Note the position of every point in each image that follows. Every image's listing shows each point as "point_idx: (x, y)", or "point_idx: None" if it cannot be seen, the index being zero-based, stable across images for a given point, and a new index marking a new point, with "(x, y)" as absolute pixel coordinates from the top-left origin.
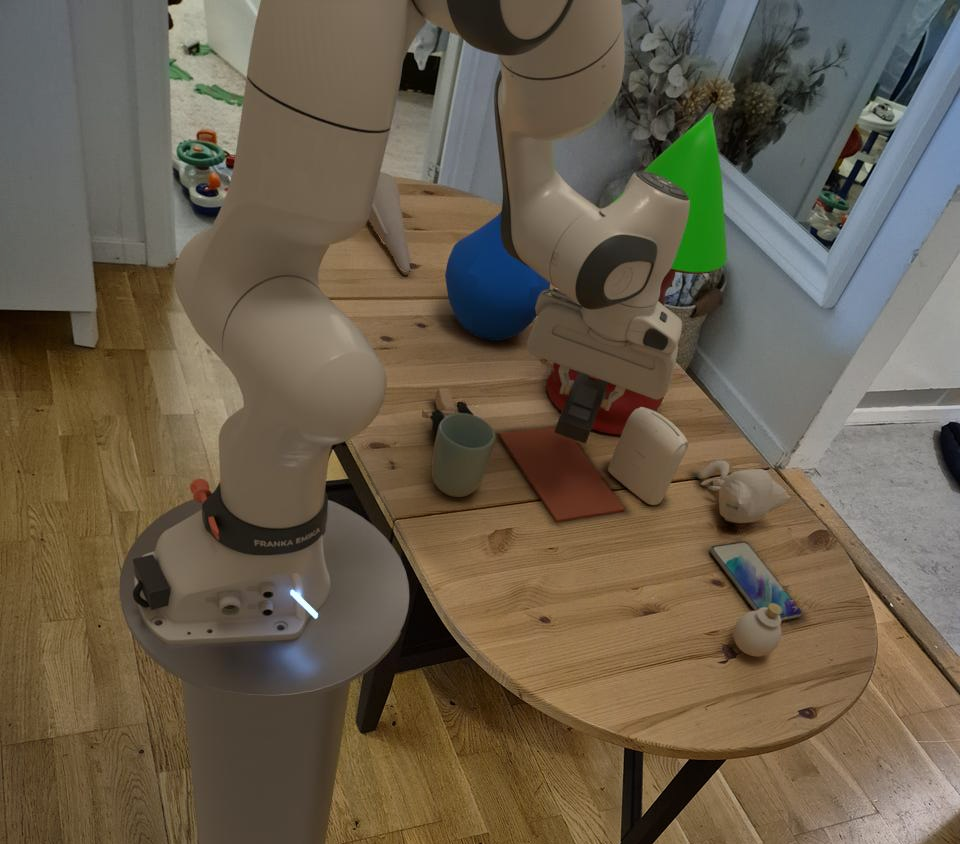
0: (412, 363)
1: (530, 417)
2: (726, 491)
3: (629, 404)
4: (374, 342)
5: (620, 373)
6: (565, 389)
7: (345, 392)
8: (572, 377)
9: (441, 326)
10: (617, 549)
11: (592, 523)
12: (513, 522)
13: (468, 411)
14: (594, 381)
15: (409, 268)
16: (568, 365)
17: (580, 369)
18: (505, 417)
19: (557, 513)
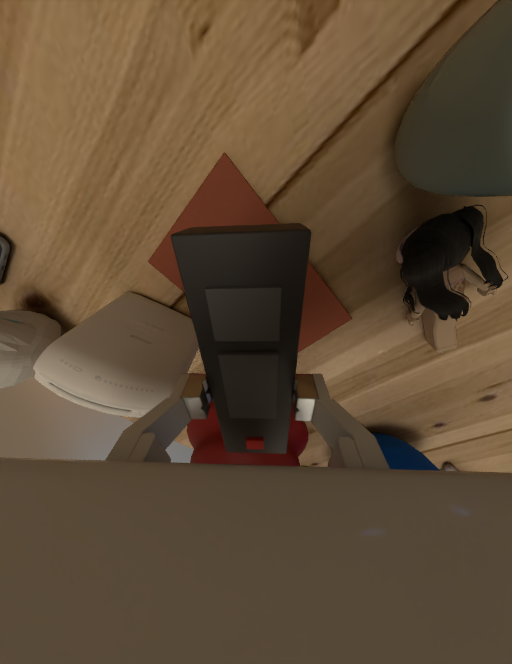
0: (461, 379)
1: (313, 364)
2: (22, 338)
3: (210, 416)
4: (507, 388)
5: (83, 553)
6: (312, 386)
7: None
8: None
9: (416, 431)
10: (104, 145)
11: (172, 198)
12: (301, 85)
13: (442, 303)
14: (249, 434)
15: (447, 470)
16: (370, 485)
17: (306, 485)
18: (343, 351)
19: (229, 175)
